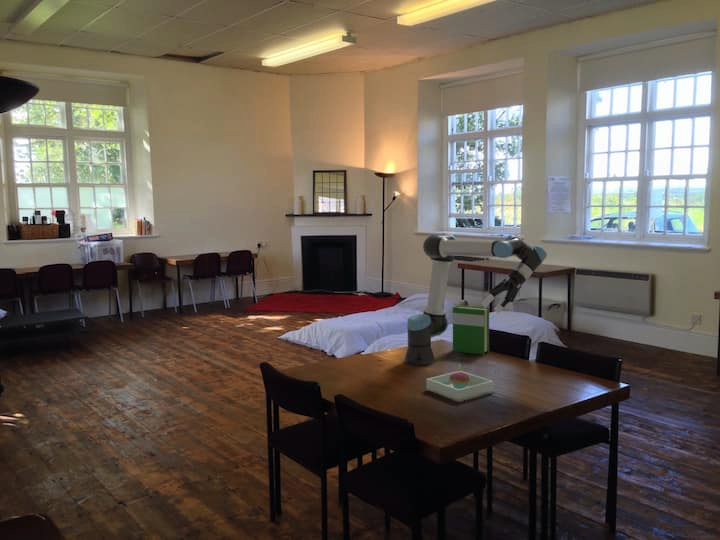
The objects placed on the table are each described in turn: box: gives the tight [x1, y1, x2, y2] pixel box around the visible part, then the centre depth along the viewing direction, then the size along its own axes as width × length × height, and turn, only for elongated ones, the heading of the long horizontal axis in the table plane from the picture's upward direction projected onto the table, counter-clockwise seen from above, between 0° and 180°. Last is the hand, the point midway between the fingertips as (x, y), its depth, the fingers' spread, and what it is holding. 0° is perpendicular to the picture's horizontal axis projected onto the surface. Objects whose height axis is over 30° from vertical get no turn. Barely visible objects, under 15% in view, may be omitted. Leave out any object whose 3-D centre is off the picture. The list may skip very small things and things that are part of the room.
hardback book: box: [452, 304, 490, 356], centre depth 327 cm, size 18×7×24 cm, turn 58°
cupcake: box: [449, 363, 470, 389], centre depth 260 cm, size 9×8×12 cm
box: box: [425, 370, 494, 403], centre depth 261 cm, size 20×20×5 cm
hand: (489, 308), depth 279 cm, fingers open, 13 cm apart
